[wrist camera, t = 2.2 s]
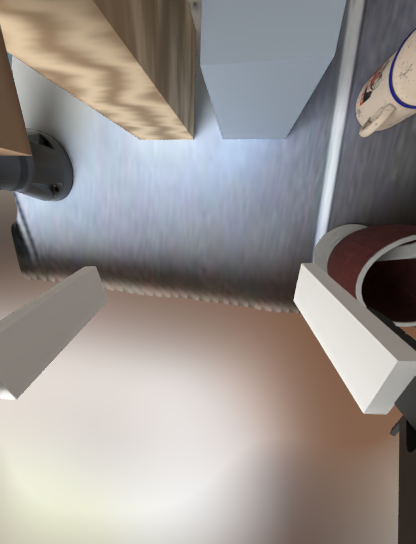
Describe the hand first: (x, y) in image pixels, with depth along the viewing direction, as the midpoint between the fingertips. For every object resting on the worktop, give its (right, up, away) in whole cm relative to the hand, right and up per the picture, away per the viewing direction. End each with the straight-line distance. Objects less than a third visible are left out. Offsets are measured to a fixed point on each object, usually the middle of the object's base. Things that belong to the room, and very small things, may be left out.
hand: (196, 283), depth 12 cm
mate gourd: (+30, +6, +27) cm, 41 cm away
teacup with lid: (+30, +28, +19) cm, 45 cm away
